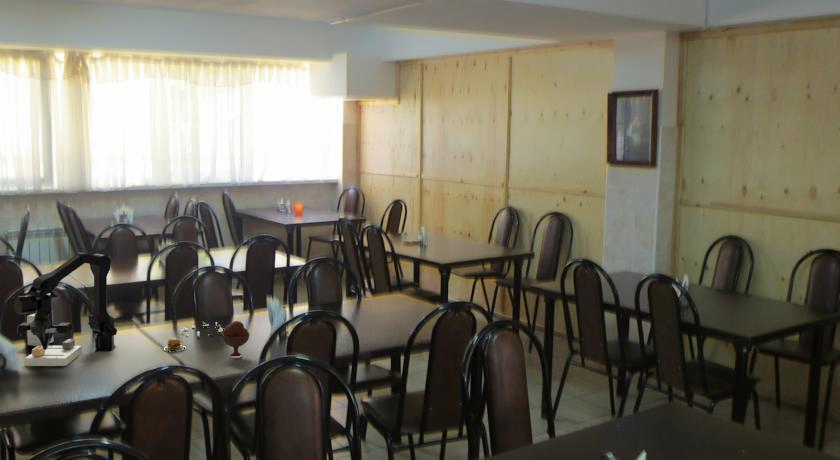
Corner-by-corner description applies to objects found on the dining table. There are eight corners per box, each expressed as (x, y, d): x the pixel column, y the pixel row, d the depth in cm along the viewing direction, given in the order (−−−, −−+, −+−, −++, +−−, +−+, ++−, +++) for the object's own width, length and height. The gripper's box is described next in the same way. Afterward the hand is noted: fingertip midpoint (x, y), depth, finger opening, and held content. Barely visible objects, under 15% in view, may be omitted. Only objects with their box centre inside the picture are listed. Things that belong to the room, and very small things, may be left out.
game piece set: (233, 331, 361) (233, 323, 360) (201, 341, 344) (200, 332, 343) (203, 325, 370) (203, 317, 370) (169, 334, 353) (169, 326, 353)
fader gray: (74, 345, 318) (74, 338, 318) (70, 349, 313) (70, 342, 313) (67, 345, 318) (66, 338, 317) (62, 349, 313) (62, 342, 312)
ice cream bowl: (254, 354, 324) (254, 319, 322) (239, 361, 313) (239, 324, 311) (232, 351, 327) (232, 316, 325) (216, 358, 317) (216, 322, 315)
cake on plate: (195, 348, 333) (194, 335, 332) (180, 355, 322) (179, 342, 321) (169, 345, 336) (169, 333, 335) (153, 353, 324) (153, 340, 324)
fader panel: (81, 352, 320) (81, 345, 320) (65, 365, 302) (65, 358, 302) (43, 352, 319) (43, 345, 318) (25, 365, 301) (24, 357, 301)
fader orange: (45, 352, 307) (45, 345, 307) (40, 356, 303) (40, 349, 302) (37, 352, 307) (37, 345, 307) (32, 356, 302) (32, 349, 302)
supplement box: (42, 346, 328) (41, 316, 326) (27, 345, 329) (26, 315, 328) (54, 342, 335) (53, 313, 334) (39, 340, 336) (37, 311, 335)
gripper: (9, 314, 294) (11, 355, 296) (61, 314, 296) (62, 355, 298) (22, 308, 305) (23, 347, 307) (72, 308, 307) (73, 347, 309)
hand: (45, 349), depth 305 cm, fingers closed
